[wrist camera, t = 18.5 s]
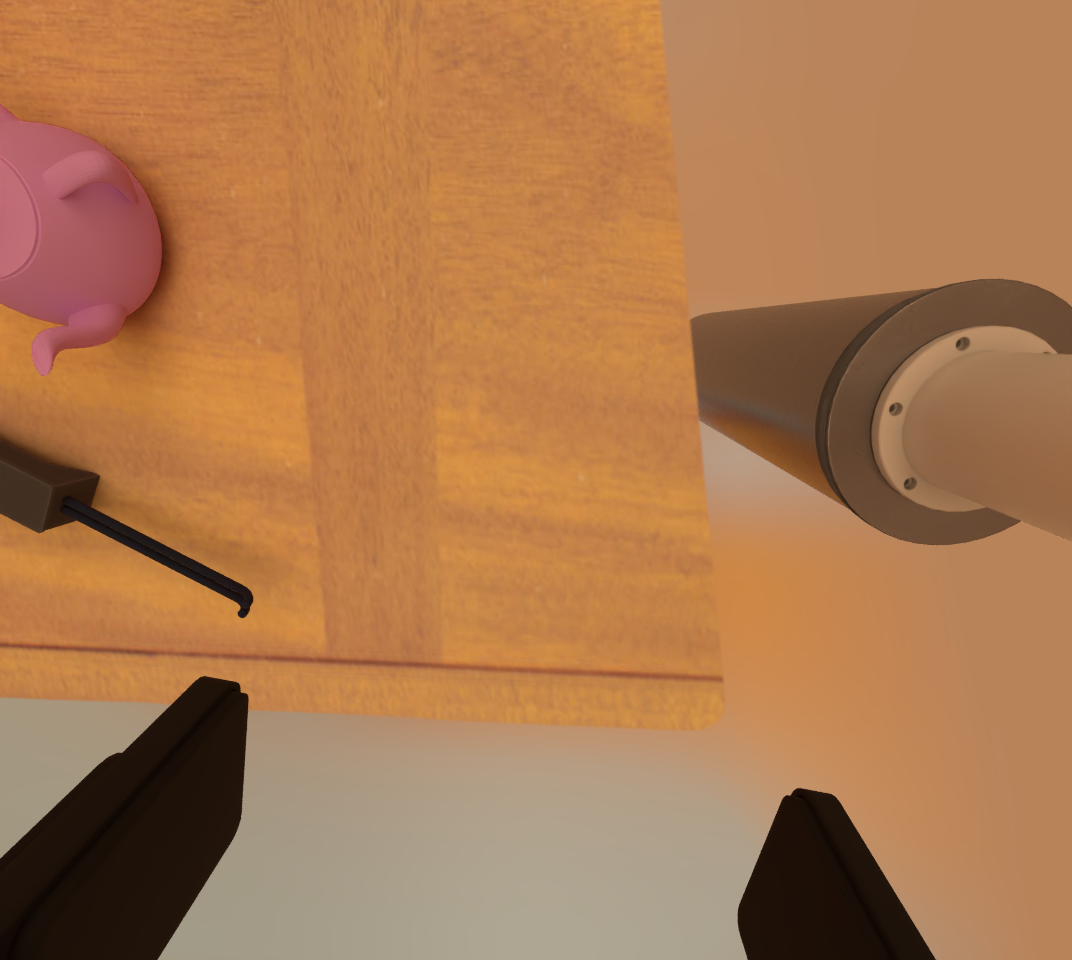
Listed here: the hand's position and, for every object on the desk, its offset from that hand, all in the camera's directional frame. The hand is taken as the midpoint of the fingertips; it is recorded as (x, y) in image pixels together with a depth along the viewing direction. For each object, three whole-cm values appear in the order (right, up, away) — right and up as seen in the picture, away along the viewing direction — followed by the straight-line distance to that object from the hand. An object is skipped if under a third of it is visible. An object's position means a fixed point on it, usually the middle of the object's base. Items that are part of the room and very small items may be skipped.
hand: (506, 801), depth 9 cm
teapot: (-29, +22, +26) cm, 44 cm away
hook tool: (-33, +4, +31) cm, 45 cm away
